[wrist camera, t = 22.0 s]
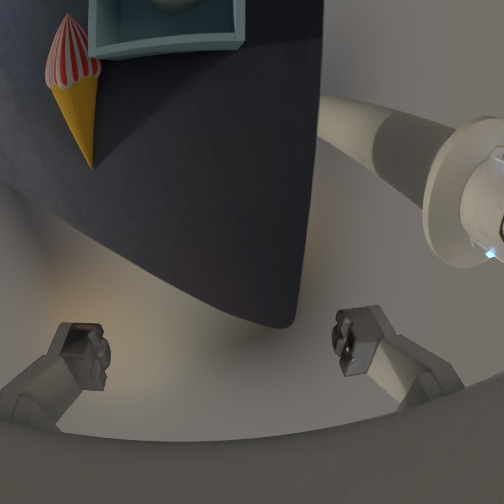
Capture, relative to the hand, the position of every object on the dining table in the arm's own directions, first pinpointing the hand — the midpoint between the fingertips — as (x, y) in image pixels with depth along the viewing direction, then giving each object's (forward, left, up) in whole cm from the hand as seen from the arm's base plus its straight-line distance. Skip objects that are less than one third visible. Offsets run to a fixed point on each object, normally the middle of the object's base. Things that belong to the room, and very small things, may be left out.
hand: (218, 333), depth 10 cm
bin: (+4, -19, -29) cm, 35 cm away
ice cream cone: (+15, -8, -29) cm, 34 cm away
